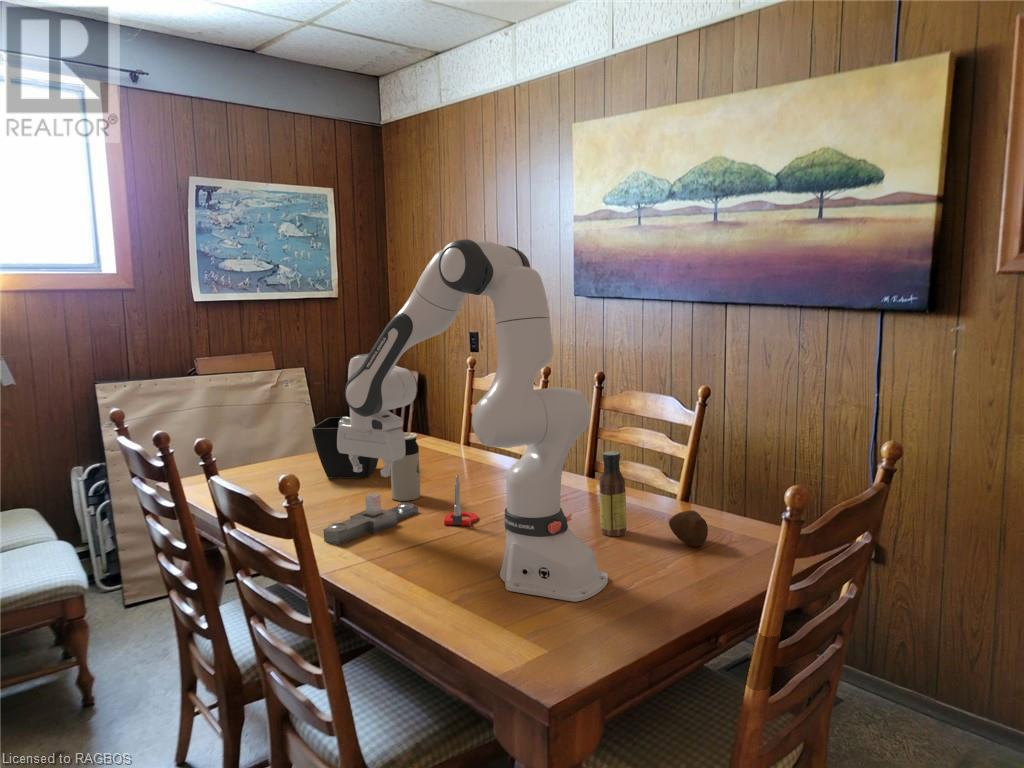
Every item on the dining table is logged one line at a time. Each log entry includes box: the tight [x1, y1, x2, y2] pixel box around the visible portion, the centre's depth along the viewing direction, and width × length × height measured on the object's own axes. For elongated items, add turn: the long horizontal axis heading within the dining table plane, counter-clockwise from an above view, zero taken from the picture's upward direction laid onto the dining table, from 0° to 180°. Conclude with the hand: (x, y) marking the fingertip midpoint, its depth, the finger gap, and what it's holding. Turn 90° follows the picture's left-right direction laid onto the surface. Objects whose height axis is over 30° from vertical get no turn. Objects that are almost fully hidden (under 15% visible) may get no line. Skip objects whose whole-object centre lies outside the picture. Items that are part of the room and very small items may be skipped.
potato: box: [668, 510, 709, 547], centre depth 166 cm, size 7×10×8 cm
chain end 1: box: [322, 508, 396, 546], centre depth 177 cm, size 8×18×4 cm, turn 146°
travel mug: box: [390, 432, 421, 502], centre depth 203 cm, size 8×8×18 cm
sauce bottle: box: [599, 450, 628, 537], centre depth 173 cm, size 7×6×20 cm
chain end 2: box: [369, 501, 419, 534], centre depth 186 cm, size 8×18×2 cm, turn 146°
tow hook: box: [443, 474, 479, 527], centre depth 184 cm, size 8×13×9 cm
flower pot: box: [311, 416, 379, 479], centre depth 229 cm, size 19×19×17 cm
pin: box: [364, 492, 382, 518], centre depth 181 cm, size 3×3×8 cm
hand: (371, 474), depth 179 cm, fingers open, 8 cm apart
